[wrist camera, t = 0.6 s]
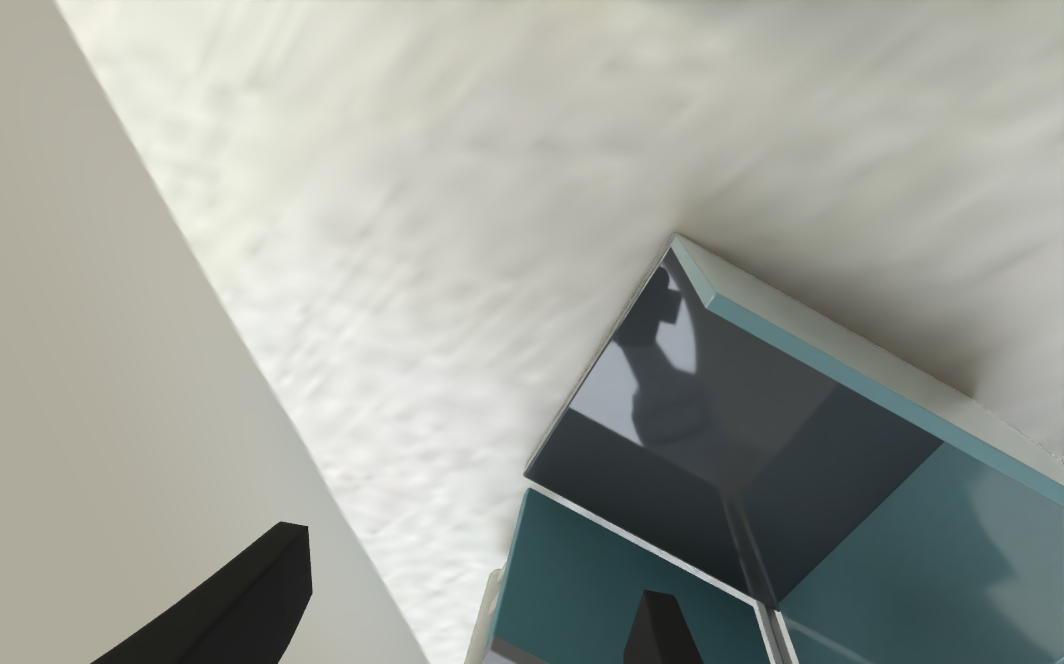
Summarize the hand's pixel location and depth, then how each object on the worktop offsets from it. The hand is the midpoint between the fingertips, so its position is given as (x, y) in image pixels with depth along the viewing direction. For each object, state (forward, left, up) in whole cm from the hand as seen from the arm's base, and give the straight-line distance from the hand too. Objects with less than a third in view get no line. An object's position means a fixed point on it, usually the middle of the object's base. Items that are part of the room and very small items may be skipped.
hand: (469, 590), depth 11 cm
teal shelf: (-6, -7, -9) cm, 13 cm away
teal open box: (+2, -8, -10) cm, 13 cm away
